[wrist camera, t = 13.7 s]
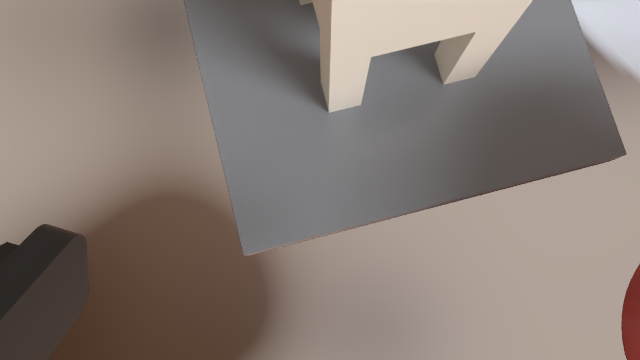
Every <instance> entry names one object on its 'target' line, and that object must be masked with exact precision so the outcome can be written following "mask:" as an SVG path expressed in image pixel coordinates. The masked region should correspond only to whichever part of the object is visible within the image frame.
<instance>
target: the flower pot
mask: <svg viewBox="0 0 640 360" xmlns="http://www.w3.org/2000/svg"><path fill="white" fill-rule="evenodd" d="M622 340H623V346H624V351H625V355H626V358H627V360H640V265H639V266H638V268H637V270H636V271H635V273H634V275H633V277H632V279H631V281H630V283H629V286H628V289H627V291H626V295H625V299H624V304H623V311H622Z"/></svg>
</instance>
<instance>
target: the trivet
mask: <svg viewBox="0 0 640 360" xmlns="http://www.w3.org/2000/svg"><path fill="white" fill-rule="evenodd" d="M184 4H185V8H186V12H187V17H188V21H189V26H190V30H191V34H192V38H193V42H194V47H195V51H196V55H197V60H198V64H199V68H200V72H201V76H202V81H203V85H204V89H205V93H206V98H207V102H208V106H209V111H210V115H211V119H212V123H213V127H214V131H215V136H216V140H217V145H218V149H219V153H220V157H221V161H222V165H223V170H224V174H225V178H226V183H227V187H228V191H229V195H230V200H231V204H232V208H233V212H234V217H235V221H236V225H237V229H238V234H239V238H240V242H241V246H242V251H243V254H244V255H247V256H249V255H253V254H257V253H261V252H265V251H268V250H272V249H276V248H280V247H284V246H288V245H291V244H295V243H299V242H303V241H307V240H310V239H314V238H318V237H322V236H326V235H330V234H334V233H337V232H341V231H345V230H349V229H353V228H356V227H360V226H364V225H368V224H372V223H375V222H379V221H383V220H387V219H391V218H394V217H398V216H402V215H406V214H410V213H413V212H418V211H421V210H425V209H429V208H433V207H436V206H441V205H444V204H448V203H452V202H456V201H460V200H463V199H467V198H471V197H475V196H479V195H483V194H486V193H490V192H494V191H498V190H502V189H505V188H509V187H513V186H517V185H520V184H525V183H528V182H532V181H536V180H540V179H544V178H547V177H551V176H555V175H559V174H563V173H566V172H570V171H574V170H578V169H582V168H585V167H589V166H593V165H597V164H601V163H604V162H609V161H611V160H614V159H616V158H619V157H621V156H624V155H626V151H625V148H624V146H623V143H622V140H621V138H620V135H619V132H618V129H617V127H616V124H615V121H614V118H613V115H612V113H611V110H610V107H609V104H608V102H607V99H606V96H605V94H604V90H603V88H602V85H601V82H600V80H599V77H598V74H597V72H596V68H595V66H594V63H593V60H592V58H591V55H590V52H589V49H588V47H587V44H586V41H585V38H584V35H583V32H582V30H581V27H580V24H579V21H578V19H577V16H576V13H575V10H574V8H573V5H572V2H571V0H533V1H532V2H531V3H530V5H529V6H528V7H527V9H526V10H525V11H524V13H523V14H522V15H521V17H520V18H519V19H518V21H517V22H516V23H515V25H514V26H513V27H512V29H511V30H510V31H509V33H508V34H507V35H506V37H505V38H504V39H503V41H502V42H501V43H500V45H499V46H498V47H497V49H496V50H495V51H494V53H493V54H492V55H491V56H490V58H489V59H488V60H487V62H486V63H485V64H484V66H483V67H482V68H481V70H480V71H479V72H478V74H477V75H476V76H475V77H473V78H469V79H465V80H461V81H457V82H453V83H449V84H445V85H443V82H442V79H441V75H440V72H439V69H438V65H437V62H436V59H435V55H434V54H435V52H436V50H437V48H438V46H439V44H440V42H441V40H440V41H436V42H432V43H428V44H424V45H420V46H415V47H411V48H407V49H403V50H399V51H395V52H391V53H386V54H382V55H378V56H374V57H371V60H370V65H369V69H368V74H367V79H366V84H365V88H364V93H363V98H362V102H361V105H359V106H355V107H351V108H346V109H342V110H338V111H334V112H330V113H329V112H328V108H327V104H326V100H325V96H324V93H323V89H322V85H321V70H320V28H319V24H318V20H317V16H316V13H315V9H314V5H313V2H312V3H308V4H304V5H300V1H299V0H184Z"/></svg>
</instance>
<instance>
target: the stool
mask: <svg viewBox="0 0 640 360" xmlns="http://www.w3.org/2000/svg"><path fill="white" fill-rule="evenodd" d="M299 1H300V5H304V4H308V3H312V2H313V5H314V9H315V13H316V16H317V20H318V24H319V28H320V70H321V85H322V89H323V93H324V96H325V100H326V104H327V108H328V112H329V113H330V112H334V111H338V110H342V109H346V108H351V107H355V106H359V105H361V102H362V98H363V93H364V88H365V84H366V79H367V74H368V69H369V65H370V60H371V57H374V56H378V55H382V54H386V53H391V52H395V51H399V50H403V49H407V48H411V47H415V46H420V45H424V44H428V43H432V42H436V41H440V40H441V42H440V44H439V46H438V48H437V50H436V52H435V54H434V55H435V59H436V62H437V65H438V69H439V72H440V75H441V79H442V82H443V85H445V84H449V83H453V82H457V81H461V80H465V79H469V78H473V77H475V76H476V75H477V74H478V72H479V71H480V70H481V68H482V67H483V66H484V64H485V63H486V62H487V60H488V59H489V58H490V56H491V55H492V54H493V53H494V51H495V50H496V49H497V47H498V46H499V45H500V43H501V42H502V41H503V39H504V38H505V37H506V35H507V34H508V33H509V31H510V30H511V29H512V27H513V26H514V25H515V23H516V22H517V21H518V19H519V18H520V17H521V15H522V14H523V13H524V11H525V10H526V9H527V7H528V6H529V5H530V3H531V2H532V1H533V0H299Z"/></svg>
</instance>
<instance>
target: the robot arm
mask: <svg viewBox="0 0 640 360" xmlns="http://www.w3.org/2000/svg"><path fill="white" fill-rule="evenodd" d="M88 290H89V285H88V265H87V246H86V239H85V237H84V236H83V235H81V234H77V233H74V232H71V231H68V230H64V229H61V228H57V227H54V226H51V225H48V224H43V225H41V226H39V227H37V228H36V229H35V230H34V231H33V232H32V233H31V234H30V235H29V236H28V237H27V238H26V239H25V240H24V241H23V242H22V243H21V244H20V245H15V244H12V243H9V242H6V243H4V244H3V245H1V246H0V360H48V359H49V357H50V356H51V355H52V353H53V352H54V351H55V349H56V348H57V346H58V345H59V344H60V342H61V341H62V340H63V338H64V337H65V336H66V334H67V333H68V332H69V330H70V329H71V327H72V326H73V325H74V323H75V322H76V321H77V319H78V318H79V316H80V314H81V312H82V310H83V308H84V306H85V303H86V300H87V296H88Z"/></svg>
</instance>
